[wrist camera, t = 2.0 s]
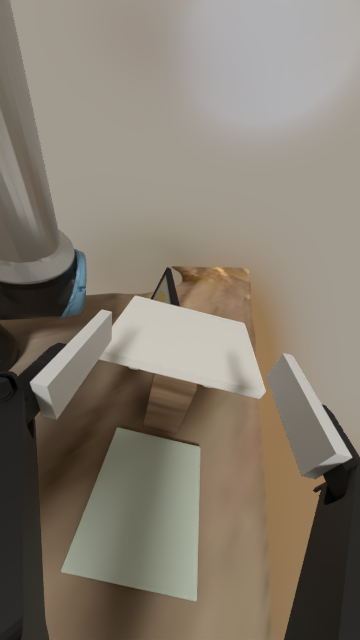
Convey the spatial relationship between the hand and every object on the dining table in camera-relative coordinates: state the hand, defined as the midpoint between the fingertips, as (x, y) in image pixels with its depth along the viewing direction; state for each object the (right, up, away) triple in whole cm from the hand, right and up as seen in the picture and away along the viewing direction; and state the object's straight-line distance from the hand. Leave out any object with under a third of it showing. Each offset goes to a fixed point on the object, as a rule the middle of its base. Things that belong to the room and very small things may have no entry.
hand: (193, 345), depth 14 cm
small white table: (-4, -14, +22) cm, 27 cm away
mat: (-5, -22, +11) cm, 25 cm away
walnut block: (-4, -15, +21) cm, 26 cm away
